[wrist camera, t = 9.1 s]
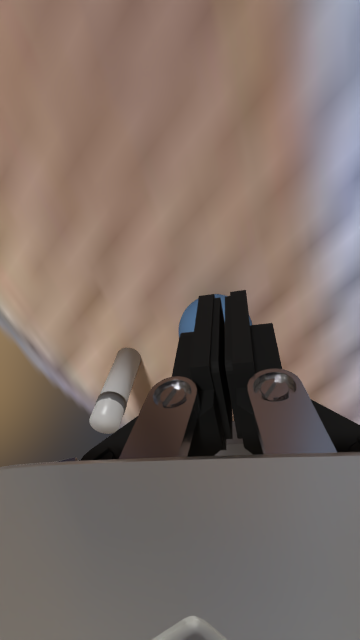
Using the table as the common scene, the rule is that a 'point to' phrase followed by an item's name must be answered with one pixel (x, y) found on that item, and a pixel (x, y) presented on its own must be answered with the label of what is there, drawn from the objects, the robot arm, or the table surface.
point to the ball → (190, 315)
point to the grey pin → (115, 392)
